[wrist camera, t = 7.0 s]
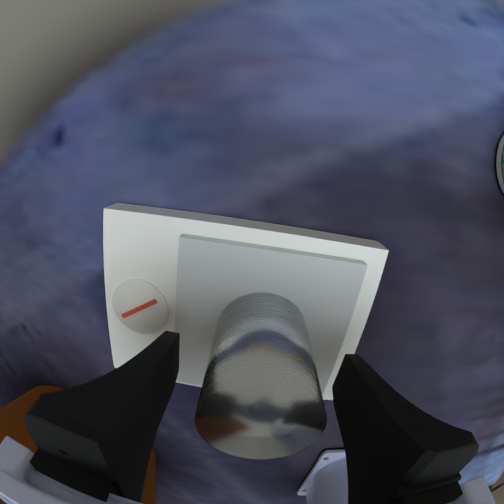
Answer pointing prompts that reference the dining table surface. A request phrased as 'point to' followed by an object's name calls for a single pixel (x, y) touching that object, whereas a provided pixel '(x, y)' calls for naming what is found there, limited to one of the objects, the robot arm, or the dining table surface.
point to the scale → (231, 282)
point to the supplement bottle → (500, 163)
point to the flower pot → (12, 425)
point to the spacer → (261, 381)
